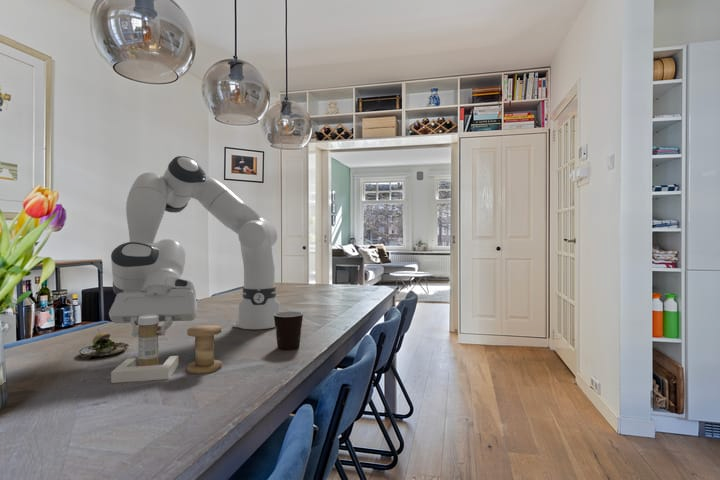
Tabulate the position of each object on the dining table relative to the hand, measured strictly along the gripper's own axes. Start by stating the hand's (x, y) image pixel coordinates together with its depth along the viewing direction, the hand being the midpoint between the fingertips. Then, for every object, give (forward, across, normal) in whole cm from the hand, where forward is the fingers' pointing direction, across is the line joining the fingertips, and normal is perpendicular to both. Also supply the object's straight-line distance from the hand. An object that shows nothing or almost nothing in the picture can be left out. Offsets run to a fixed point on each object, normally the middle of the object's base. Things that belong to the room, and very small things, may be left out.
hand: (148, 334), depth 97 cm
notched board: (+7, 0, +5) cm, 9 cm away
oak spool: (+6, +13, +6) cm, 16 cm away
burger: (-7, -18, +20) cm, 28 cm away
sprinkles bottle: (+6, 0, +6) cm, 9 cm away
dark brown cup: (-5, +34, +18) cm, 39 cm away
